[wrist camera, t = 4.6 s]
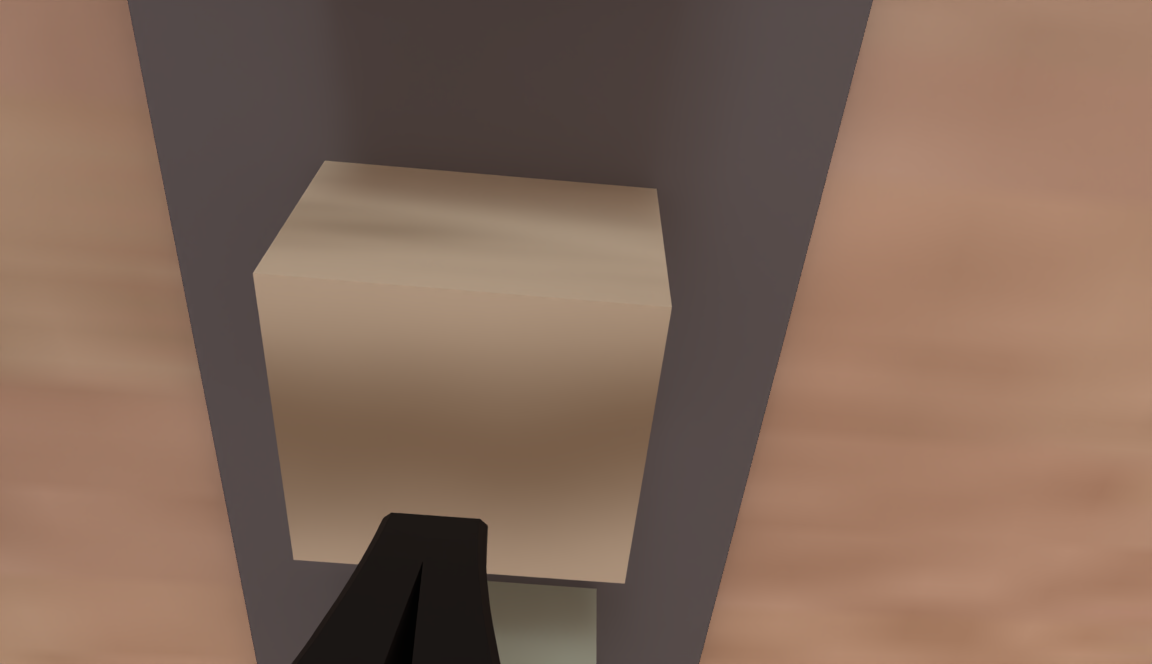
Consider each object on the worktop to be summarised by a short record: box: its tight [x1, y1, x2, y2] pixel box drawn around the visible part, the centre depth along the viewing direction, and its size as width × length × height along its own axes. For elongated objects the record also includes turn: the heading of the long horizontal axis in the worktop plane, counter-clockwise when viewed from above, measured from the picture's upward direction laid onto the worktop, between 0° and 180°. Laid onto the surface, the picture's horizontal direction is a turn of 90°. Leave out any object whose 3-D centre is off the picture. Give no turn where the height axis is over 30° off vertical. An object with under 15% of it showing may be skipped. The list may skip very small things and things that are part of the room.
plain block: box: [253, 161, 672, 584], centre depth 16 cm, size 6×6×4 cm
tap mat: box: [128, 0, 873, 664], centre depth 18 cm, size 30×12×1 cm, turn 175°
